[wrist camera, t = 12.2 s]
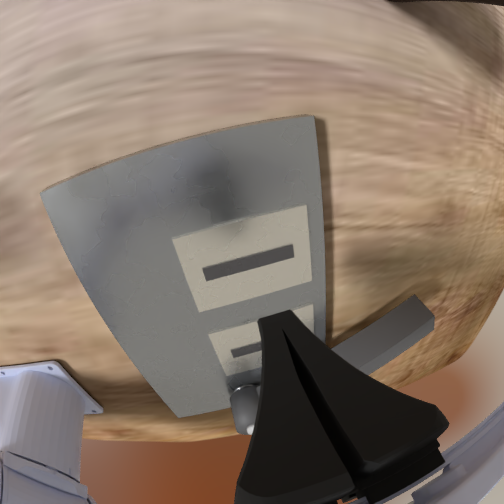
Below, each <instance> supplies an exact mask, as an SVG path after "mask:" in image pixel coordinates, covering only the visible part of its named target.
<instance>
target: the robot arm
mask: <svg viewBox="0 0 504 504" xmlns="http://www.w3.org/2000/svg"><path fill="white" fill-rule="evenodd" d="M257 323H258V328H259V332H260V336H261V347H262V371H261V386H260V395H259V402H258V409H257V414H256V419H255V424H254V429H253V433H252V437H251V441H250V444H249V448H248V451H247V455H246V458H245V461H244V464H243V467H242V469H241V472H240V475H239V478H238V481H237V486H236V492H235V500H234V504H338V503H337V500H339V499H342V502H343V503H344V502H347V501H350V500H352V499H354V498H358V500H355V501H353V502H351V503H348V504H383V503H385V502H387V501H389V500H391V499H393V498H395V497H397V496H399V495H400V494H402V493H404V492H406V491H408V490H409V489H411V488H413V487H414V486H416V485H418V484H419V483H421V482H423V481H424V480H425V479H427V478H429V477H430V476H432V475H433V474H435V473H436V472H438V471H439V470H441V469H442V468H444V469H443V473H442V474H441V475H440V476H438V477H437V478H435V479H433V480H432V481H430V482H428V483H427V484H425V485H424V486H422V487H421V488H419V489H418V490H416V491H414V492H413V493H412V494H411V495H412V497H413V499H414V501H412V502H410V503H408V504H478V503H479V502H480V501H481V500H482V499H483V498H484V497H485V496H486V495H487V494H488V493H489V492H490V491H491V490H492V489H493V488H494V486H495V485H496V484H497V483H498V482H499V481H500V480H501V478H502V477H503V476H504V402H503V403H502V404H501V405H500V406H499V407H498V408H497V409H496V410H494V411H493V412H492V413H491V414H490V415H489V416H488V417H487V418H486V419H485V420H484V421H482V422H481V423H480V424H479V425H478V426H476V427H475V428H474V429H473V430H472V431H470V432H469V433H468V434H467V435H465V436H464V437H463V438H462V439H460V440H459V441H458V442H456V443H455V444H454V445H452V446H451V447H450V448H448V449H447V450H446V451H444V452H442V453H440V451H439V450H438V447H439V446H440V444H439V442H438V441H437V438H438V437H439V436H440V435H441V434H442V433H443V432H444V431H445V430H446V429H447V428H448V426H449V422H448V420H447V419H446V417H445V416H444V415H443V414H442V412H441V411H440V410H439V409H438V408H437V406H436V405H434V404H430V403H427V402H424V401H421V400H419V399H416V398H413V397H411V396H408V395H406V394H403V393H401V392H399V391H396V390H394V389H392V388H390V387H388V386H386V385H385V384H383V383H381V382H379V381H377V380H375V379H373V378H371V377H370V376H368V375H366V374H365V373H363V372H362V371H360V370H359V369H357V368H355V367H354V366H353V365H351V364H350V363H348V362H347V361H346V360H344V359H343V358H342V357H340V356H339V355H338V354H336V353H335V352H334V351H333V350H331V349H330V348H329V347H328V346H327V345H326V344H325V343H323V342H322V341H321V340H320V339H319V338H318V337H317V336H316V335H315V334H313V333H312V332H311V331H310V330H309V329H308V328H307V327H306V326H305V325H304V323H303V322H302V321H301V320H300V319H299V318H298V317H297V316H296V315H295V313H294V312H293V311H292V310H290V309H289V310H286V311H283V312H279V313H276V314H273V315H269V316H266V317H262V318H259V319H258V321H257ZM98 413H103V408H102V407H101V406H100V405H99V404H98V403H97V402H96V401H95V400H94V399H93V398H92V397H91V396H90V395H88V394H87V393H86V392H85V391H84V390H83V389H82V388H81V387H80V386H79V384H78V383H77V382H76V381H75V380H74V379H73V378H72V377H71V376H70V375H69V374H68V373H67V372H66V371H65V370H64V368H63V367H62V366H61V365H60V364H59V363H58V362H56V361H47V362H40V363H32V364H24V365H16V366H6V367H0V504H96V502H95V500H94V499H93V498H92V497H91V496H90V495H88V494H87V486H85V485H82V484H80V458H81V442H82V431H83V421H84V414H98Z"/></svg>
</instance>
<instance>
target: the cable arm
mask: <svg viewBox="0 0 504 504" xmlns="http://www.w3.org/2000/svg"><path fill="white" fill-rule="evenodd" d="M434 319H435V316H434V315H433V314H432V312H431V311H430V310H429V309H428V308H427V307H426V306H425V305H424V304H423V303H422V302H421V301H420V300H419V299H418V297H417V296H416V295H415V294H414V295H413V296H411V297H410V298H408V299H407V300H406V301H404V302H403V303H402V304H400V305H399V306H397V307H396V308H394V309H393V310H391V311H390V312H389V313H387V314H386V315H384V316H383V317H381V318H380V319H378V320H377V321H375V322H374V323H372V324H371V325H369V326H367V327H366V328H364V329H363V330H361V331H360V332H358V333H356V334H355V335H353V336H352V337H350V338H348V339H347V340H345V341H343V342H342V343H340V344H338V345H337V346H335V347H333V348H331V350H333V351H334V352H335V353H336V354H338V355H339V356H340V357H342V358H343V359H344V360H346V361H347V362H348V363H350V364H351V365H353V366H354V367H355V368H357V369H359V370H360V371H362V372H363V373H365V374H366V375H369V374H371V373H372V372H374V371H375V370H377V369H379V368H380V367H382V366H383V365H385V364H386V363H388V362H389V361H391V360H392V359H394V358H395V357H397V356H398V355H400V354H401V353H403V352H404V351H406V350H407V349H408V348H410V347H411V346H413V345H414V344H415V343H417V342H418V341H419V340H421V339H422V338H423V337H425V336H426V335H427V334H429V333H430V332H431V331H433V330H434ZM259 395H260V386H259V387H247V388H243V389H240V390H238V391H236V392H235V393H233V394H232V395H231V396H230V404H231V409H232V413H233V418H234V422H235V426H236V430H237V432H238V433H240V434H244V435H252V433H253V429H254V424H255V419H256V414H257V409H258V402H259Z"/></svg>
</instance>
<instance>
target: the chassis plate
mask: <svg viewBox="0 0 504 504" xmlns="http://www.w3.org/2000/svg"><path fill="white" fill-rule="evenodd" d="M40 196H41V198H42V201H43V203H44V206H45V208H46V211H47V213H48V215H49V218H50V220H51V223H52V225H53V227H54V229H55V232H56V234H57V236H58V238H59V240H60V242H61V244H62V246H63V249H64V251H65V253H66V255H67V257H68V259H69V261H70V263H71V264H72V266H73V268H74V270H75V272H76V274H77V276H78V278H79V279H80V281H81V283H82V285H83V287H84V288H85V290H86V292H87V294H88V295H89V297H90V299H91V300H92V302H93V304H94V305H95V307H96V309H97V310H98V312H99V314H100V315H101V317H102V318H103V320H104V321H105V323H106V325H107V326H108V328H109V329H110V331H111V332H112V334H113V335H114V337H115V338H116V340H117V341H118V342H119V344H120V345H121V347H122V348H123V350H124V351H125V352H126V354H127V355H128V357H129V358H130V359H131V361H132V362H133V363H134V365H135V366H136V367H137V369H138V370H139V371H140V373H141V374H142V375H143V376H144V378H145V379H146V380H147V382H148V383H149V384H150V385H151V387H152V388H153V389H154V390H155V391H156V393H157V394H158V395H159V396H160V397H161V399H162V400H163V401H164V402H165V403H166V404H167V406H168V407H169V408H170V409H171V410H172V411H173V412H174V414H175V415H176V416H177V417H178V418H181V417H187V416H192V415H197V414H203V413H208V412H212V411H217V410H222V409H226V408H230V407H231V404H230V396H231V395H232V394H233V393H235V392H236V391H238V390H240V389H243V388H247V387H259V386H261V371H262V347H261V336H260V332H259V328H258V323H257V321H258V319H259V318H262V317H266V316H269V315H273V314H276V313H279V312H283V311H286V310H289V309H290V310H292V311H293V312H294V313H295V315H296V316H297V317H298V318H299V319H300V320H301V321H302V322H303V323H304V325H305V326H306V327H307V328H308V329H309V330H310V331H311V332H312V333H313V334H315V335H316V336H317V337H318V338H319V339H320V340H321V341H322V342H323V343H325V333H326V277H325V243H324V221H323V205H322V190H321V178H320V166H319V156H318V146H317V137H316V128H315V120H314V116H313V115H307V114H304V115H296V116H289V117H282V118H276V119H270V120H264V121H258V122H253V123H247V124H242V125H237V126H232V127H228V128H223V129H219V130H214V131H210V132H206V133H202V134H198V135H194V136H190V137H186V138H182V139H178V140H175V141H171V142H168V143H164V144H161V145H158V146H154V147H151V148H148V149H145V150H141V151H138V152H135V153H132V154H129V155H126V156H123V157H121V158H118V159H115V160H112V161H109V162H107V163H104V164H101V165H99V166H96V167H94V168H91V169H88V170H86V171H83V172H81V173H79V174H76V175H74V176H71V177H69V178H67V179H64V180H62V181H60V182H58V183H55V184H53V185H51V186H49V187H47V188H46V189H44V190H43V191H42V192H41V193H40Z"/></svg>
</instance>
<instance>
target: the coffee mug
mask: <svg viewBox="0 0 504 504" xmlns="http://www.w3.org/2000/svg"><path fill="white" fill-rule="evenodd" d="M389 1H393V2H414V1H460V2H474V3H484V4H492V5H499V6H504V0H389Z"/></svg>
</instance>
